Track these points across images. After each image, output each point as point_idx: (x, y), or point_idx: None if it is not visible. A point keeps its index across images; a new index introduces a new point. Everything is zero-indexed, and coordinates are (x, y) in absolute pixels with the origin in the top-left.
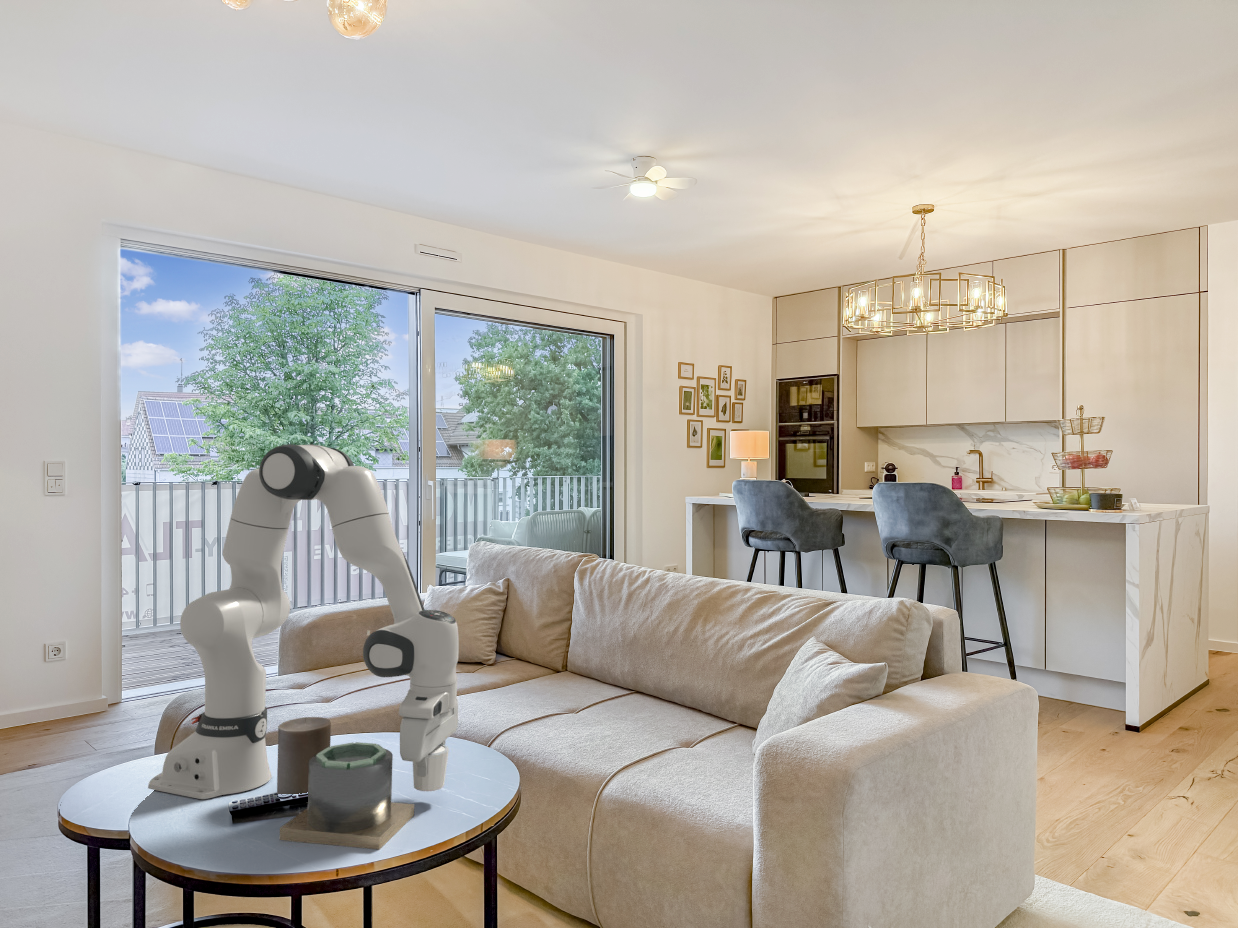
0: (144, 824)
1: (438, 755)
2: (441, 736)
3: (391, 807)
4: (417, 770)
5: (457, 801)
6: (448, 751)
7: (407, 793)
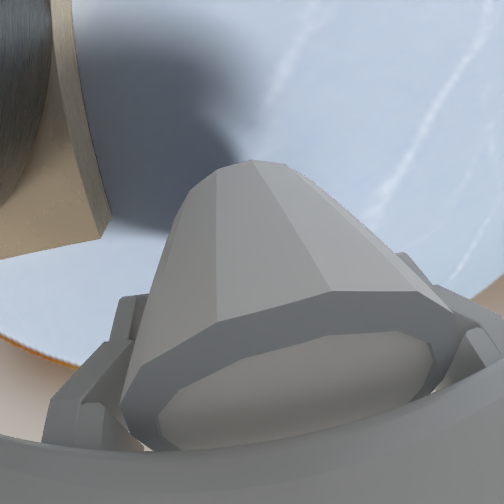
0: None
1: None
2: None
3: (30, 172)
4: (116, 319)
5: None
6: None
7: (315, 63)
